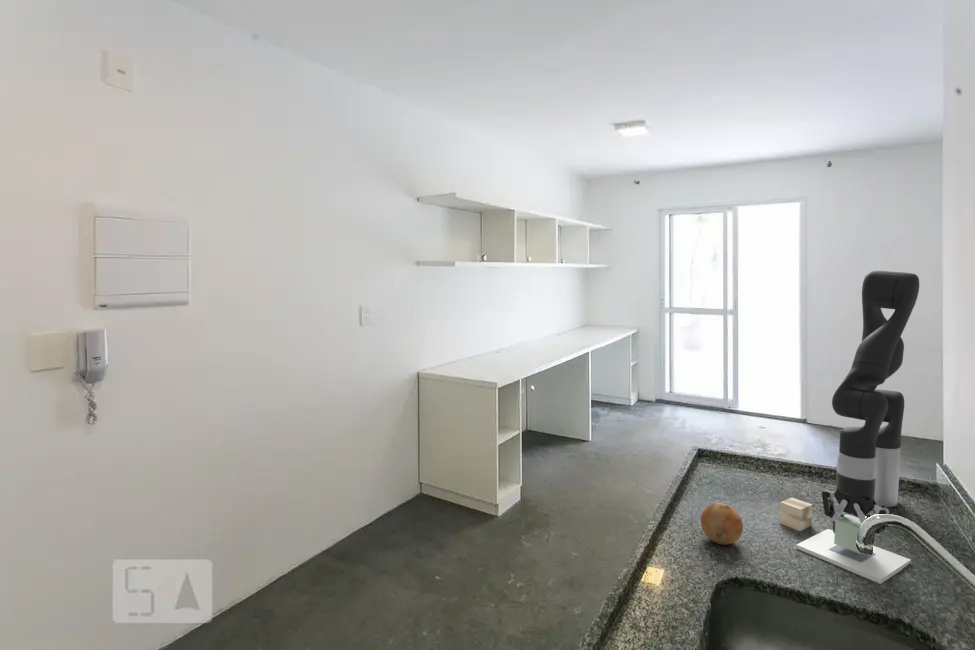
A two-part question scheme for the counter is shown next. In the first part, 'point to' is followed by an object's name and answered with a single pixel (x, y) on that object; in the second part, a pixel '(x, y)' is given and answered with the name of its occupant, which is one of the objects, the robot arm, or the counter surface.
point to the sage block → (847, 532)
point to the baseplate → (854, 557)
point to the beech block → (796, 514)
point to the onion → (721, 523)
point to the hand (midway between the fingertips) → (852, 540)
